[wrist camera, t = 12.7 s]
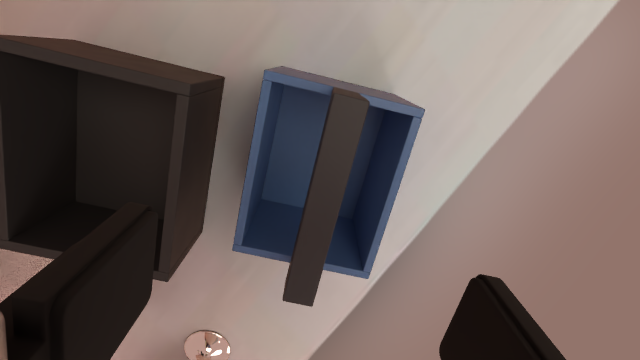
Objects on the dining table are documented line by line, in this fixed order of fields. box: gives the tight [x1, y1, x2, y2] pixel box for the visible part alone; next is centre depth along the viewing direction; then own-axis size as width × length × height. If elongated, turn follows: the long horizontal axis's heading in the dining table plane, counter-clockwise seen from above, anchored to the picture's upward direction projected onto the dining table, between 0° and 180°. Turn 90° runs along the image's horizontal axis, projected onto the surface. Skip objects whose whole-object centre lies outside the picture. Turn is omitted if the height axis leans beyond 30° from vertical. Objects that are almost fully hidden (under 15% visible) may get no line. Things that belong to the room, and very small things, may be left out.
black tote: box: [0, 35, 225, 282], centre depth 24 cm, size 13×11×7 cm
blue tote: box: [232, 66, 425, 306], centre depth 22 cm, size 11×9×12 cm
